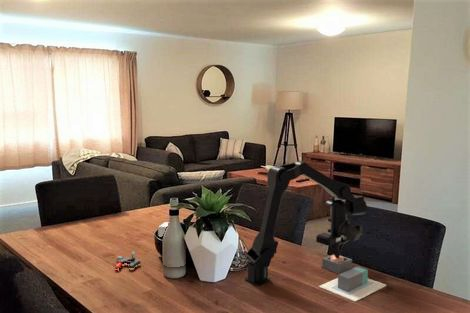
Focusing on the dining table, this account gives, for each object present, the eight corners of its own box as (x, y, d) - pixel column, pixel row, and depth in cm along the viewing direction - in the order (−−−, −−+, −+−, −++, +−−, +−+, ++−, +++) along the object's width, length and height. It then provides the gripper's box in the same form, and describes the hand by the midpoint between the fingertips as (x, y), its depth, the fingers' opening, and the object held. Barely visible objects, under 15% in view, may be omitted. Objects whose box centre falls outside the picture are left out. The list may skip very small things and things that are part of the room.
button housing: (339, 274, 154) (339, 264, 154) (321, 267, 160) (321, 258, 160) (352, 268, 159) (352, 259, 159) (334, 262, 165) (334, 253, 165)
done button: (338, 268, 156) (338, 260, 156) (327, 264, 160) (328, 257, 160) (346, 265, 159) (346, 257, 159) (335, 261, 163) (335, 254, 163)
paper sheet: (355, 301, 133) (355, 300, 133) (318, 286, 144) (318, 285, 144) (386, 285, 145) (386, 284, 145) (350, 273, 155) (350, 271, 155)
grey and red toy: (119, 260, 168) (118, 248, 167) (144, 265, 163) (144, 253, 162) (101, 269, 159) (101, 256, 159) (127, 275, 154) (126, 262, 153)
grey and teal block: (348, 291, 139) (348, 278, 139) (337, 287, 142) (338, 274, 142) (367, 282, 146) (367, 269, 146) (357, 278, 149) (357, 266, 149)
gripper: (341, 226, 145) (340, 270, 147) (372, 216, 157) (370, 257, 159) (315, 219, 154) (314, 261, 156) (346, 210, 166) (345, 249, 168)
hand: (337, 257), depth 159 cm, fingers closed, pressing on done button
